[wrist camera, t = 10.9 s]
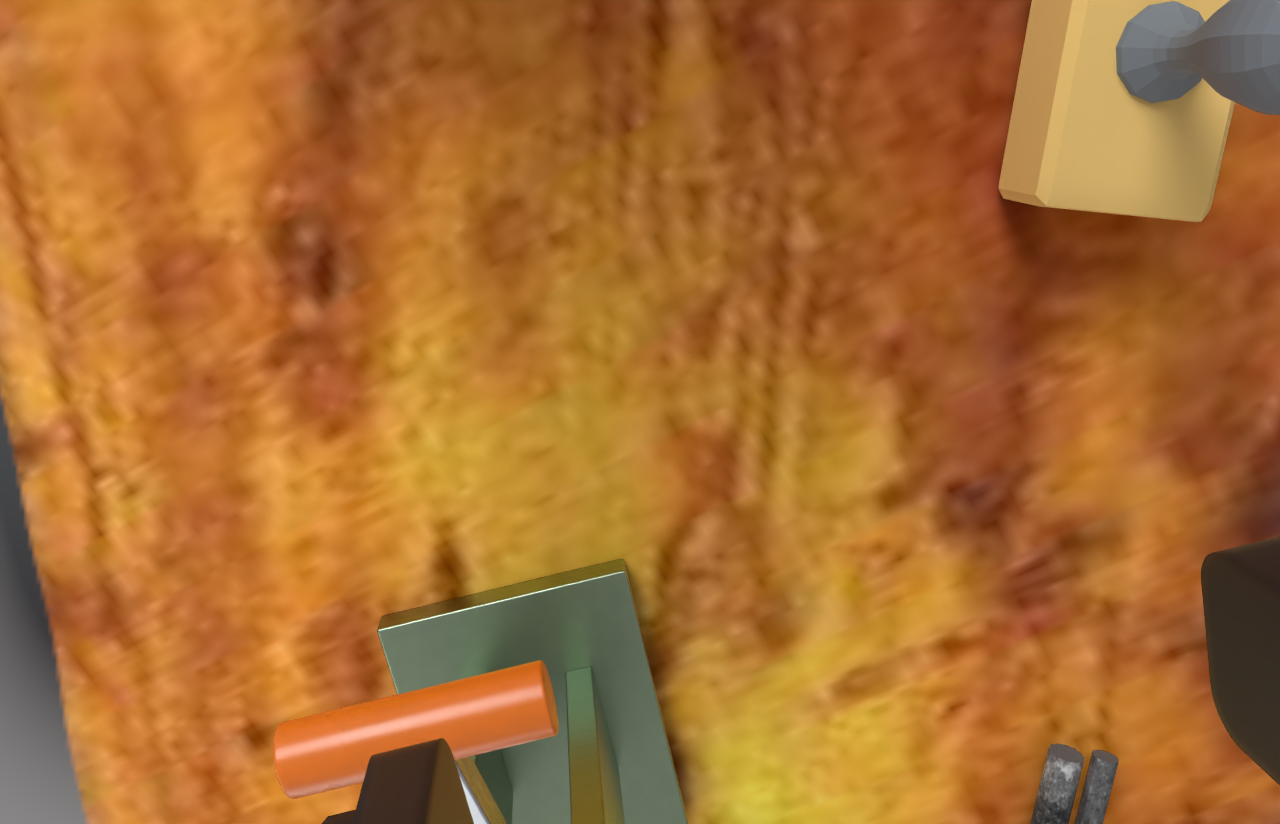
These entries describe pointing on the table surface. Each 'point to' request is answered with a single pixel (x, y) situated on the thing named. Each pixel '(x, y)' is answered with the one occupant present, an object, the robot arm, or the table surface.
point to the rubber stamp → (1135, 102)
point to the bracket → (555, 694)
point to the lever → (420, 732)
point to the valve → (1074, 786)
